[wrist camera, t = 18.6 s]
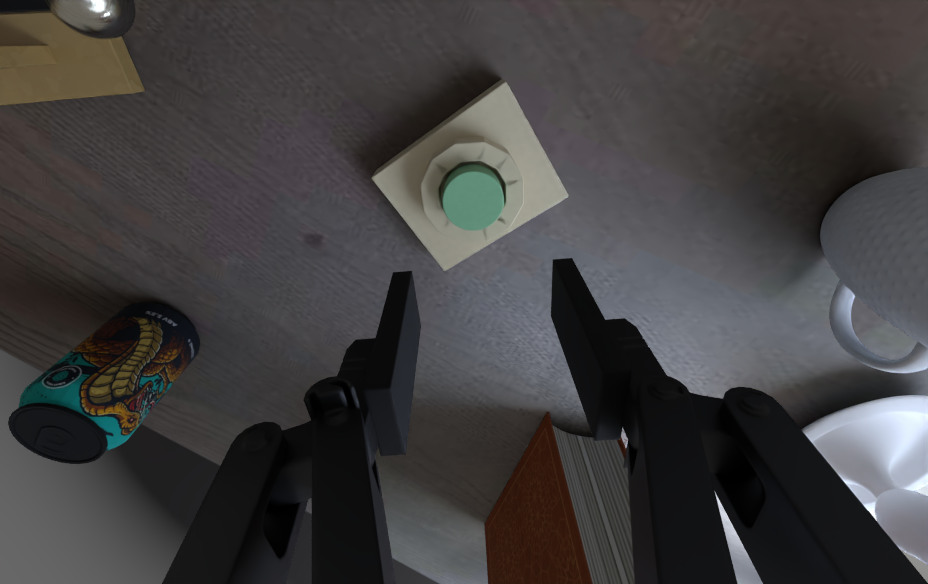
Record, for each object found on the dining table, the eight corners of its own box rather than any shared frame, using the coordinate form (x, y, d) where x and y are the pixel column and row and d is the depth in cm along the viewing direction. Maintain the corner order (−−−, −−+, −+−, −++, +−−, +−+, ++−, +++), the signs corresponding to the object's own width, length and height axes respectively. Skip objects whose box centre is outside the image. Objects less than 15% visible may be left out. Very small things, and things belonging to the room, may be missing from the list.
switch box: (502, 78, 28) (509, 83, 25) (562, 187, 32) (575, 205, 29) (375, 169, 31) (366, 185, 28) (445, 259, 35) (444, 283, 32)
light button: (481, 151, 27) (483, 158, 26) (512, 201, 29) (515, 210, 27) (431, 185, 28) (430, 194, 27) (464, 231, 30) (464, 241, 28)
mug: (852, 317, 39) (1012, 429, 28) (743, 304, 38) (863, 414, 27) (975, 156, 31) (1263, 220, 20) (843, 134, 30) (1069, 189, 19)
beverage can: (216, 325, 38) (128, 431, 28) (187, 371, 41) (98, 482, 31) (136, 283, 36) (7, 382, 25) (111, 335, 38) (-14, 443, 28)
